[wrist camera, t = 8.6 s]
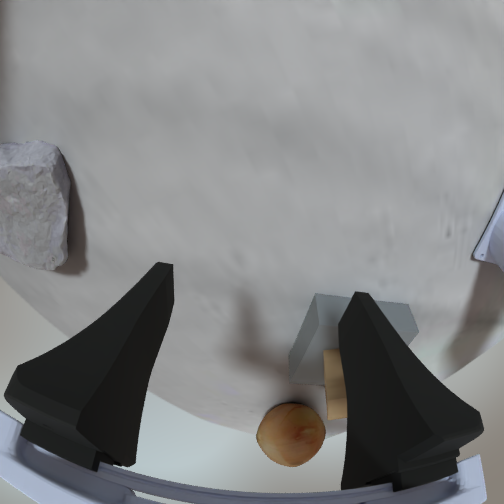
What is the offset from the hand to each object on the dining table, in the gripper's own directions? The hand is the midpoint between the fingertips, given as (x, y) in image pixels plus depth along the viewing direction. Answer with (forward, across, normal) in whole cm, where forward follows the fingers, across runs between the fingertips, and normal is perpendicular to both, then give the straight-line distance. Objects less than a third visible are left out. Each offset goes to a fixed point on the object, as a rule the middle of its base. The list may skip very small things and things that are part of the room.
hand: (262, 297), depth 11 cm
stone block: (+11, +20, +4) cm, 23 cm away
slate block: (+11, -11, +14) cm, 21 cm away
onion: (+11, -10, +33) cm, 36 cm away
